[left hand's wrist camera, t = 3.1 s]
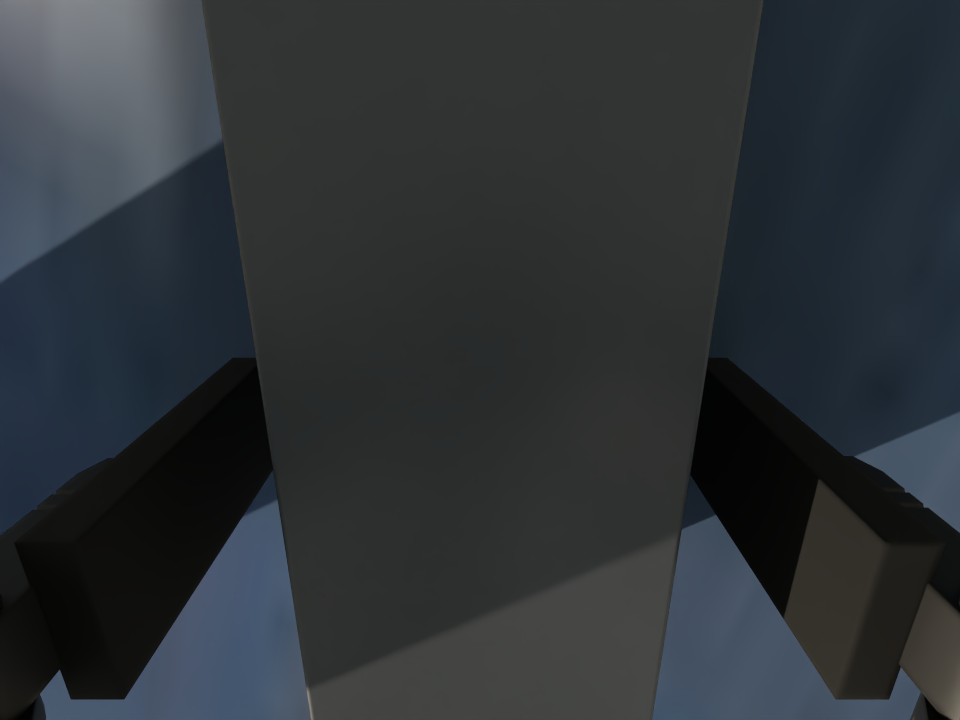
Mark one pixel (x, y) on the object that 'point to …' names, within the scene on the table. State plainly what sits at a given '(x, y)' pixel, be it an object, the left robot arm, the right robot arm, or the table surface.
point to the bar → (482, 330)
